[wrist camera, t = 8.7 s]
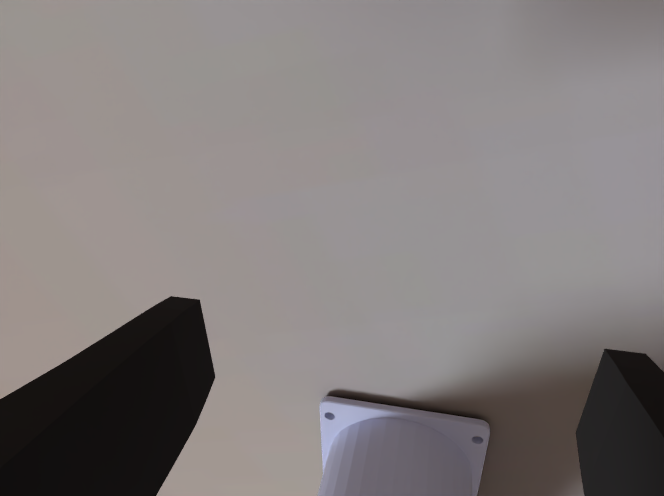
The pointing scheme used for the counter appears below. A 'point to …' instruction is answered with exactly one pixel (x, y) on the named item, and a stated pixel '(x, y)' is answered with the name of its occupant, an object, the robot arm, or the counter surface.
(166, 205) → the counter surface
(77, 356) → the robot arm
